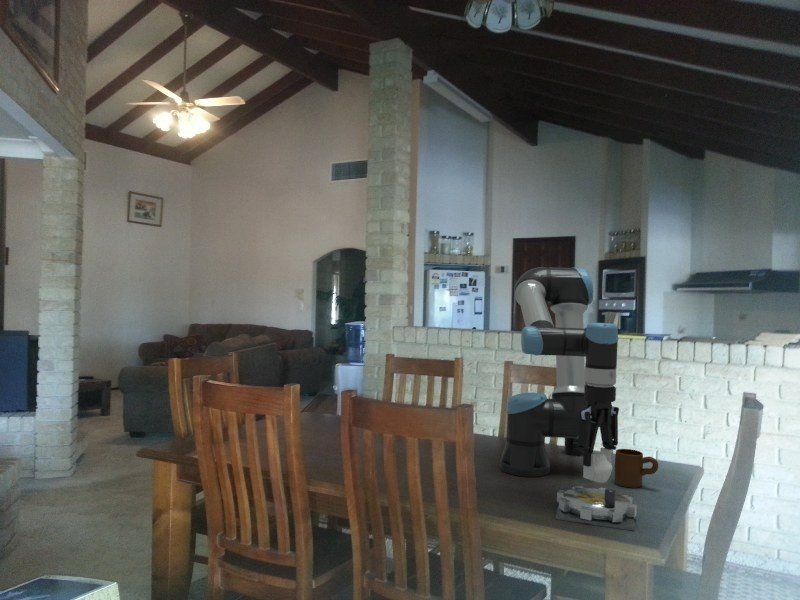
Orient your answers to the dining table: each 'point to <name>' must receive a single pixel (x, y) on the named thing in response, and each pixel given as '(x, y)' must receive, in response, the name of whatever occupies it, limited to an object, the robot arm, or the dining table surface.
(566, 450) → the supplement bottle
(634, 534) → the dining table surface
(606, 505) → the sprocket
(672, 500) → the dining table surface
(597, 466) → the muffin
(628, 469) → the mug
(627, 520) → the base plate
